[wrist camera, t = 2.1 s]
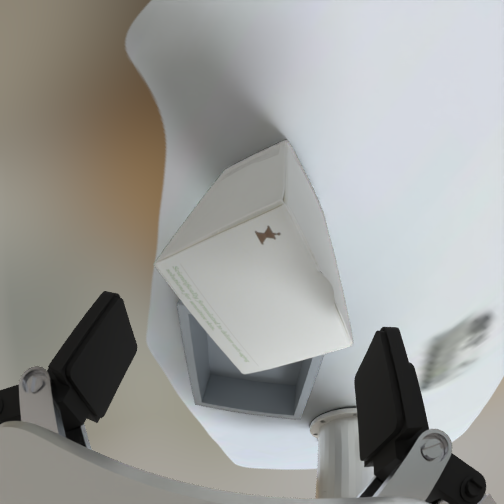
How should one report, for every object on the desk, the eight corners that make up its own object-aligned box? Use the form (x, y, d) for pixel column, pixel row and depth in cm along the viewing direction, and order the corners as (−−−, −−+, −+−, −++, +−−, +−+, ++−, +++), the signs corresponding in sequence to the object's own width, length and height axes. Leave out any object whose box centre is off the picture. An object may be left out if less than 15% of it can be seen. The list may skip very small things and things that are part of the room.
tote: (302, 384, 38) (300, 419, 33) (205, 371, 40) (195, 404, 35) (329, 284, 29) (333, 324, 24) (196, 268, 31) (176, 304, 26)
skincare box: (224, 168, 25) (140, 257, 12) (292, 135, 23) (285, 189, 9) (267, 245, 28) (237, 380, 15) (331, 219, 26) (358, 351, 13)
